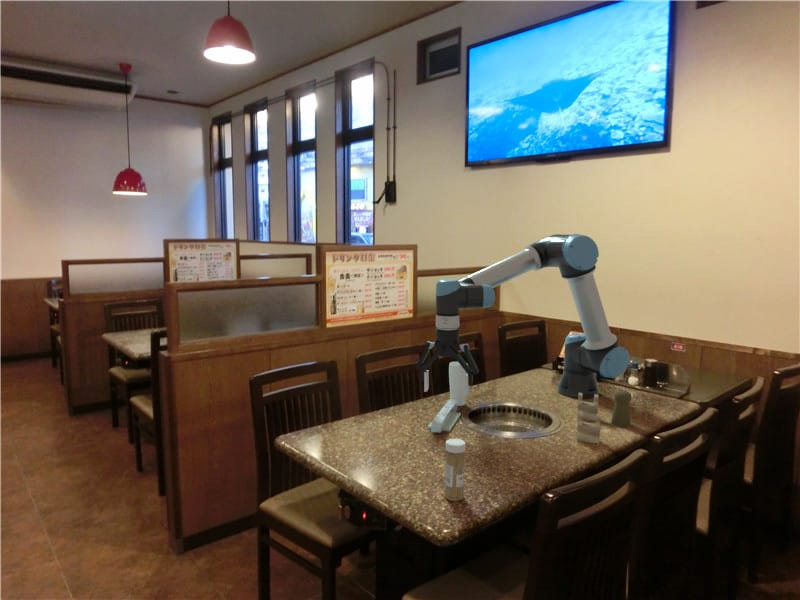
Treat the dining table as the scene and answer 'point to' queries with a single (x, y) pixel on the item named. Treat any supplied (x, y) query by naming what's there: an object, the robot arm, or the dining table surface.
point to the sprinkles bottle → (454, 469)
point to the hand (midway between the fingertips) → (446, 392)
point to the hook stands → (588, 411)
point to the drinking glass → (457, 382)
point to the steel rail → (444, 416)
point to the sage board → (450, 422)
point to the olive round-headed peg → (621, 409)
